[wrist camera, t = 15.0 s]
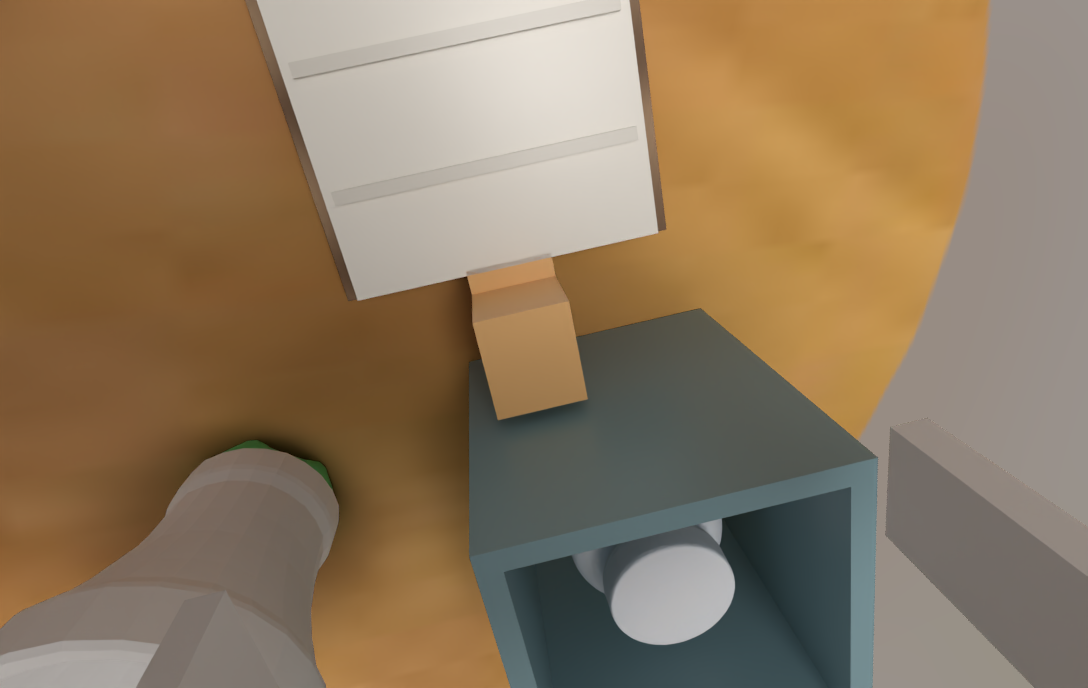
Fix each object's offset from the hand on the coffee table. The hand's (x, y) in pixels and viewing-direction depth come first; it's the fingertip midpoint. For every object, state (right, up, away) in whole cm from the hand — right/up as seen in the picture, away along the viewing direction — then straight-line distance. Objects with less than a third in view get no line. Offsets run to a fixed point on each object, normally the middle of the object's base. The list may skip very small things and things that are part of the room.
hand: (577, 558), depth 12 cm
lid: (-3, +12, +13) cm, 18 cm away
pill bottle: (+3, -1, +20) cm, 21 cm away
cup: (-15, -4, +19) cm, 25 cm away
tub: (+3, -1, +20) cm, 20 cm away
